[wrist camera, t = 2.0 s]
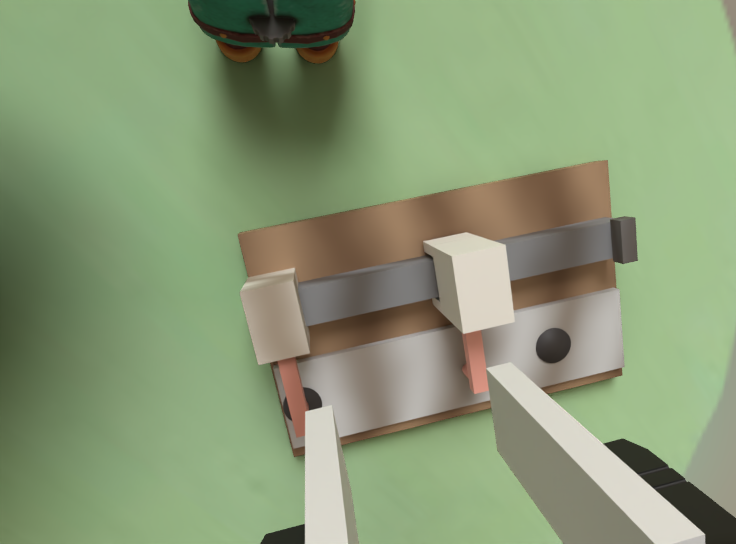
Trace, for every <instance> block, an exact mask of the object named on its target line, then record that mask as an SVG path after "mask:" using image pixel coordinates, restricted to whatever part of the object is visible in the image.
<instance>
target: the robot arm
mask: <svg viewBox="0 0 736 544" xmlns="http://www.w3.org/2000/svg"><path fill="white" fill-rule="evenodd" d="M486 373H487V380H488V387H489V394H490V401H491V409H492V416H493V423H494V430H495V437H496V444H497V451H498V452H499V454H500V455H501V456H502V458H503V459H504V461H505V462H506V463H507V465H508V466H509V468H510V469H511V471H512V472H513V473H514V475H515V476H516V478H517V479H518V480H519V482H520V483H521V485H522V486H523V487H524V489H525V490H526V492H527V493H528V494H529V496H530V497H531V499H532V500H533V501H534V503H535V504H536V506H537V507H538V509H539V510H540V511H541V513H542V514H543V516H544V517H545V518H546V520H547V521H548V523H549V524H550V525H551V527H552V528H553V530H554V531H555V532H556V534H557V535H558V537H559V538H560V540H561V541H562V542H563V544H736V518H735V517H734V516H732V515H731V514H730V513H728V512H727V511H726V510H724V509H723V508H722V507H721V506H719V505H718V504H717V503H716V502H714V501H713V500H712V499H711V498H709V497H708V496H707V495H705V494H704V493H703V492H702V491H700V490H699V489H698V488H697V487H695V486H694V485H693V484H691V483H690V482H686V480H685V478H684V477H683V476H681V475H680V474H679V473H677V472H676V471H675V470H674V469H672V468H669V467H668V465H667V464H666V463H665V462H663V461H662V460H661V459H660V458H658V457H657V456H656V455H654V454H653V453H652V452H651V451H649V450H648V449H646V448H644V447H641V446H639V445H637V444H634V443H632V442H630V441H627V440H625V439H619V440H615V441H612V442H608V443H604V444H603V443H601V442H600V441H599V440H598V439H597V438H596V437H595V436H593V435H592V434H591V433H590V432H589V431H588V430H587V429H586V428H584V427H583V426H582V425H581V424H580V423H579V422H578V421H577V420H575V419H574V418H573V417H572V416H571V415H570V414H569V413H567V412H566V411H565V410H564V409H563V408H562V407H561V406H560V405H558V404H557V403H556V402H555V401H554V400H553V399H552V398H551V397H549V396H548V395H547V394H546V393H545V392H544V391H543V390H542V389H540V388H539V387H538V386H537V385H536V384H535V383H534V382H532V381H531V380H530V379H529V378H528V377H527V376H526V375H525V374H523V373H522V372H521V371H520V370H519V369H518V368H517V367H516V366H514V365H513V364H512V363H511V362H509V363H505V364H501V365H497V366H493V367H489V368H486ZM261 544H359V540H358V534H357V527H356V520H355V513H354V506H353V499H352V493H351V487H350V482H349V478H348V473H347V469H346V465H345V460H344V456H343V451H342V447H341V443H340V438H339V434H338V429H337V425H336V420H335V416H334V412H333V407H332V405H330V406H326V407H322V408H318V409H314V410H310V411H306V412H305V524H303V525H299V526H295V527H291V528H287V529H284V530H280V531H276V532H272V533H269V534H266V535H265V536H264V538H263V540H262V542H261Z"/></svg>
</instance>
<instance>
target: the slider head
mask: <svg viewBox="0 0 736 544" xmlns="http://www.w3.org/2000/svg"><path fill="white" fill-rule="evenodd" d="M423 246H424V252H426V253H427V254H429V255H431V256H432V257H433V260H434V266H435V273H436V279H437V285H438V292H439V297H436V298H432V301H433V305H434V306H435V307H436V308H437V309H438V310H439V311H440V312H441V313H442V314H443V315H444V316H445V317H446V318H447V319H448V320H449V321H450V322H451V323H452V324H454V325H455V326H456V327H457V328H458V329H459V330H460V331H461V332H462V337H463V344H464V351H465V357H466V364H464V365H463V367H462V371H463V373H464V374H465V375H466V376H467V378H468V379H469V384H470V389H471V390H472V391H473V393H474V394H477V393H481V392H485V391H489V387H488V380H487V373H486V362H485V355H484V348H483V341H482V334H481V330H483V329H487V328H491V327H496V326H500V325H504V324H509V323H513V322H515V318H514V310H513V302H512V293H511V285H510V277H509V269H508V260H507V252H506V245H505V244H501V243H498V242H495V241H492V240H489V239H486V238H483V237H480V236H476V235H473V234H470V233H467V232H465V233H461V234H456V235H451V236H446V237H442V238H437V239H432V240H427V241H423Z"/></svg>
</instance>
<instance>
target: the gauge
mask: <svg viewBox="0 0 736 544" xmlns="http://www.w3.org/2000/svg"><path fill="white" fill-rule="evenodd" d="M465 232H467V233H470V234H473V235H476V236H480V237H483V238H486V239H489V240H492V241H495V242H498V243H501V244H505V245H506V252H507V260H508V269H509V277H510V285H511V293H512V302H513V310H514V318H515V322H513V323H509V324H504V325H500V326H496V327H491V328H487V329H483V330H481V334H482V341H483V348H484V355H485V362H486V368H489V367H493V366H497V365H501V364H505V363H509V362H511V363H512V364H513V365H514V366H516V367H517V368H518V369H519V370H520V371H521V372H522V373H523V374H525V375H526V376H527V377H528V378H529V379H530V380H531V381H532V382H534V383H535V384H536V385H537V386H538V387H539V388H540V389H542V390H543V391H544V392H545V393H546V394H549V393H553V392H557V391H561V390H565V389H569V388H573V387H577V386H581V385H585V384H589V383H593V382H597V381H601V380H605V379H609V378H613V377H617V376H621V375H622V367H624V353H623V338H622V323H621V308H620V292H619V289H617V288H616V276H615V262H618V263H622V264H625V263H629V262H634V261H638V258H637V240H636V223H635V218H634V217H625V216H624V217H619V218H612V217H611V202H610V187H609V173H608V160H604V161H594V162H589V163H584V164H579V165H574V166H569V167H564V168H559V169H554V170H549V171H544V172H539V173H534V174H529V175H524V176H519V177H514V178H509V179H504V180H499V181H494V182H489V183H484V184H479V185H474V186H469V187H464V188H459V189H454V190H449V191H444V192H439V193H434V194H429V195H424V196H419V197H414V198H409V199H404V200H400V201H395V202H390V203H385V204H380V205H375V206H370V207H365V208H360V209H355V210H350V211H345V212H340V213H335V214H330V215H325V216H320V217H315V218H310V219H305V220H300V221H295V222H290V223H285V224H280V225H275V226H270V227H265V228H260V229H255V230H250V231H245V232H240V233H239V234H238V238H239V242H240V246H241V250H242V254H243V258H244V262H245V266H246V270H247V274H248V279H247V281H246V282H245V284H244V286H243V287H242V289H241V291H240V296H241V300H242V304H243V308H244V312H245V315H246V319H247V323H248V327H249V331H250V335H251V338H252V342H253V346H254V350H255V354H256V358H257V362H258V365H261V364H265V363H270V364H271V368H272V372H273V376H274V380H275V384H276V388H277V392H278V396H279V400H280V404H281V408H282V412H283V416H284V420H285V423H286V427H287V431H288V435H289V439H290V443H291V447H292V451H293V455H294V457H296V456H300V455H304V454H305V412H306V411H310V410H314V409H318V408H322V407H326V406H330V405H332V407H333V412H334V416H335V420H336V425H337V429H338V434H339V438H340V443H341V445H344V444H348V443H352V442H356V441H360V440H364V439H368V438H372V437H376V436H380V435H384V434H388V433H392V432H396V431H400V430H404V429H408V428H413V427H417V426H421V425H425V424H429V423H433V422H437V421H441V420H445V419H449V418H453V417H457V416H461V415H465V414H469V413H473V412H477V411H481V410H485V409H489V408H491V401H490V394H489V391H485V392H481V393H477V394H474V393H473V391H472V390H471V389H470V384H469V379H468V378H467V376H466V375H465V374H464V373H463V371H462V367H463V365H464V364H466V357H465V351H464V344H463V337H462V332H461V331H460V330H459V329H458V328H457V327H456V326H455V325H454V324H452V323H451V322H450V321H449V320H448V319H447V318H446V317H445V316H444V315H443V314H442V313H441V312H440V311H439V310H438V309H437V308H436V307H435V306H434V305H433V301H432V298H436V297H439V292H438V285H437V279H436V273H435V266H434V260H433V257H432V256H431V255H429V254H427V253H426V252H424V246H423V241H427V240H432V239H437V238H442V237H446V236H451V235H456V234H461V233H465Z"/></svg>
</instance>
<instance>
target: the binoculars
mask: <svg viewBox="0 0 736 544" xmlns="http://www.w3.org/2000/svg"><path fill="white" fill-rule="evenodd" d="M355 3H356V1H355V0H188V6H189V10H190V13H191V16H192V18H193V20H194V21H195V23H197V24H198V25H199V26H200V28H201V30H202V31H203V32H204V33H205V34H206V35H208V36H209V37H211V38H213V39H215V40H216V42H217V44H218V46H219V48H220V50H221V51H222V52H223V54H224V55H225V56H227V57H228V58H229V59H231V60H233V61H236V62H247V61H250V60H252V59H254V58H255V57H256V56H257V55H258V53H259V52H260V50H261V48H263V47H275V43H277V42H278V45H279V47H282V48H296V49H297V51H298V52H299V54H300V55H301V56H302V57H303V58H304V59H305V60H307V61H309V62H312V63H323V62H326V61H328V60H329V59H330V58H332V57H333V55H334V54H335V52H336V50H337V47H338V41H339V40H341V39H343V38H344V37H345V36H346V35H347V33H348V32H349V29H350V27H351V26H352V23H353V19H354V13H355V6H354V5H355Z"/></svg>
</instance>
